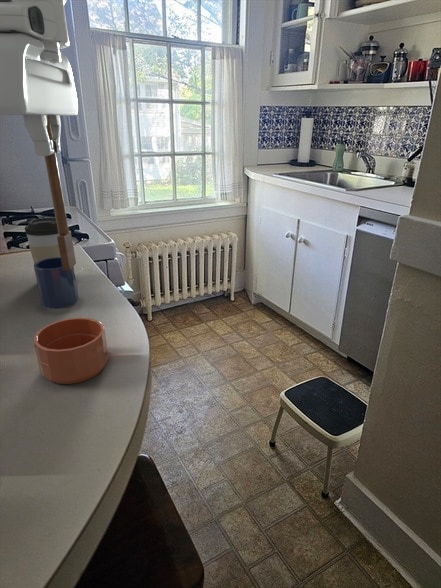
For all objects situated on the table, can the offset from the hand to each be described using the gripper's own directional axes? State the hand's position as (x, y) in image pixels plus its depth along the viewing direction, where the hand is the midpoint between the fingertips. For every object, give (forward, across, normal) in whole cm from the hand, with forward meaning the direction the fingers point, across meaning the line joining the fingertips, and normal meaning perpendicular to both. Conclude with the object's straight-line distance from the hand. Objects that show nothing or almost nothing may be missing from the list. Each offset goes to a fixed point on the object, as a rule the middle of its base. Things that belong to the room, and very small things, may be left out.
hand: (49, 154), depth 51 cm
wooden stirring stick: (+15, 0, 0) cm, 16 cm away
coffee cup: (+31, -33, -16) cm, 48 cm away
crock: (+31, -21, -11) cm, 39 cm away
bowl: (+31, +2, -1) cm, 31 cm away
